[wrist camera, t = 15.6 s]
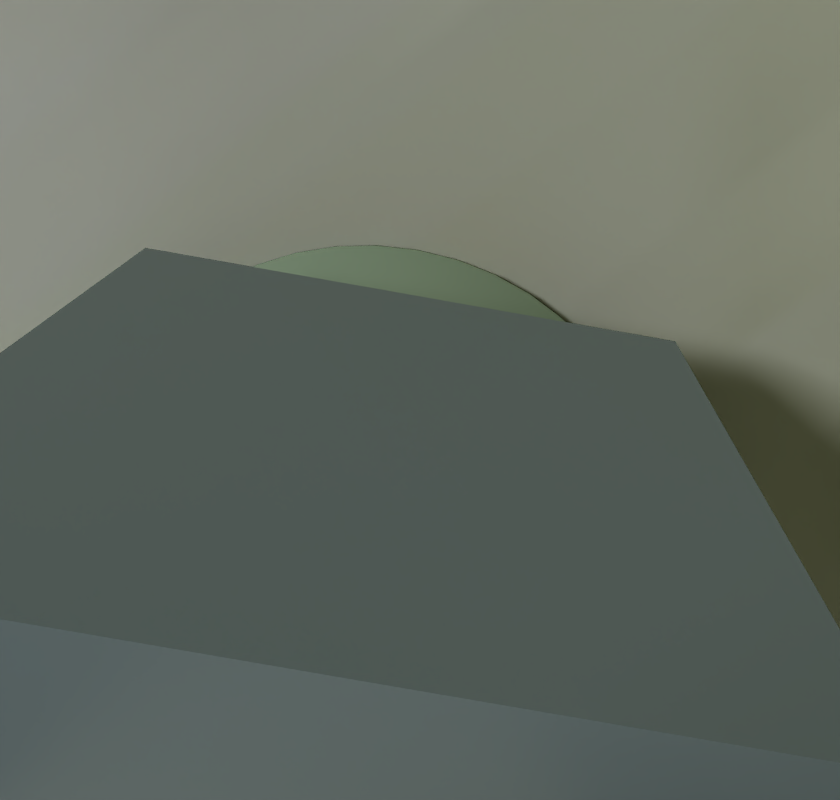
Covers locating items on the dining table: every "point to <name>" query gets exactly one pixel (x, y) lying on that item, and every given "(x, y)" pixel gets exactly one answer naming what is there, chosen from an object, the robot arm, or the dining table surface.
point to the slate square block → (386, 558)
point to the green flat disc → (412, 276)
